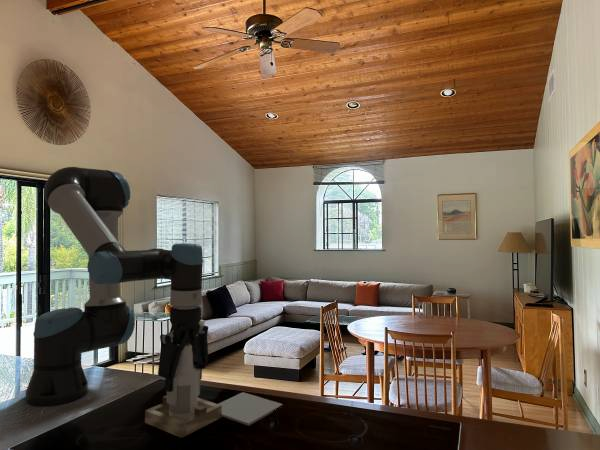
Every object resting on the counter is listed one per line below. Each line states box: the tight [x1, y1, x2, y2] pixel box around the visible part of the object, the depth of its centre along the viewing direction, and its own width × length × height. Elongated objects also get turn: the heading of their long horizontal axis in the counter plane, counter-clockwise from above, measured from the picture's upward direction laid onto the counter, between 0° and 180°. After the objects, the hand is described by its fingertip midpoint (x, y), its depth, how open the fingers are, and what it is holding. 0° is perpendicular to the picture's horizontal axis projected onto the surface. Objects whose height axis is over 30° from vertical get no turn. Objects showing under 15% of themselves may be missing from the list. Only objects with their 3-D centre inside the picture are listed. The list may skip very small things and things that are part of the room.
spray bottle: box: [169, 343, 199, 421], centre depth 109 cm, size 7×7×18 cm
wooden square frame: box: [144, 394, 223, 439], centre depth 109 cm, size 14×13×4 cm
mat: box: [217, 391, 283, 426], centre depth 116 cm, size 14×14×1 cm
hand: (183, 398), depth 109 cm, fingers closed on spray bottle, 7 cm apart
